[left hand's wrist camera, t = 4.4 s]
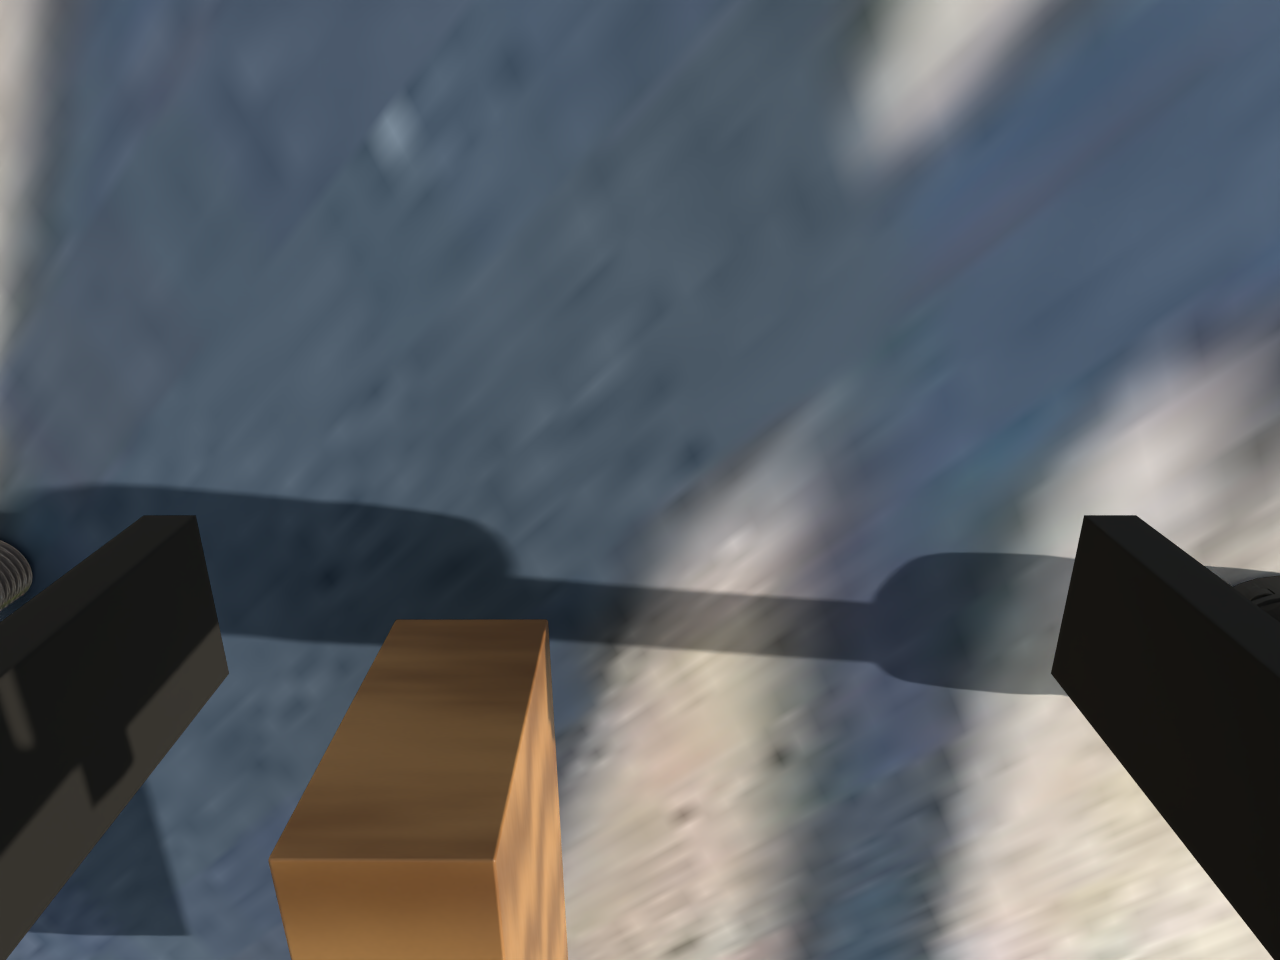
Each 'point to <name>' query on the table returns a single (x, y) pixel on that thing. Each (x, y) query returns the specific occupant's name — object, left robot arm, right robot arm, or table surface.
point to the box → (434, 807)
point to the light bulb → (13, 575)
